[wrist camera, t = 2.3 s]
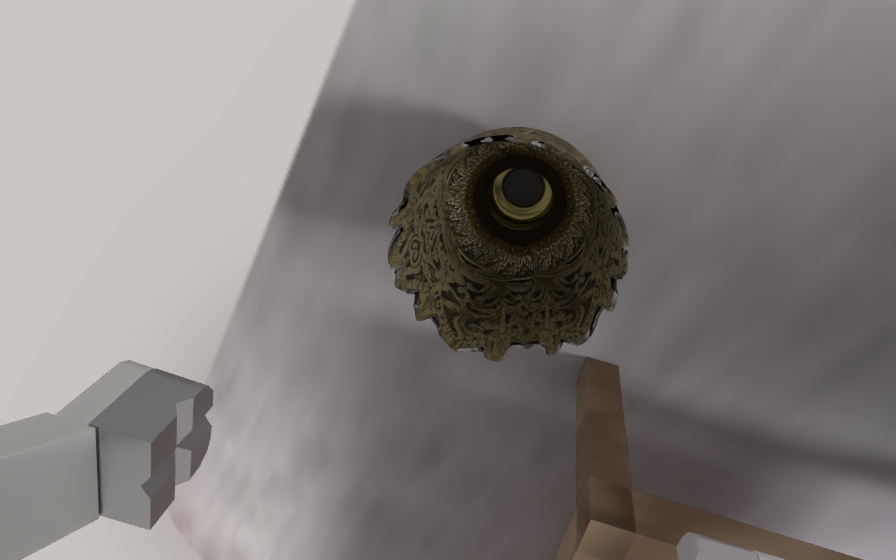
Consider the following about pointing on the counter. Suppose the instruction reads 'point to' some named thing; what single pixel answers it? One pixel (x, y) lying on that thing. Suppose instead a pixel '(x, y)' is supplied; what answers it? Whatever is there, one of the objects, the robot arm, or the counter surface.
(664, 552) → the frame
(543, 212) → the bronze rounded piece
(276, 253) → the counter surface
